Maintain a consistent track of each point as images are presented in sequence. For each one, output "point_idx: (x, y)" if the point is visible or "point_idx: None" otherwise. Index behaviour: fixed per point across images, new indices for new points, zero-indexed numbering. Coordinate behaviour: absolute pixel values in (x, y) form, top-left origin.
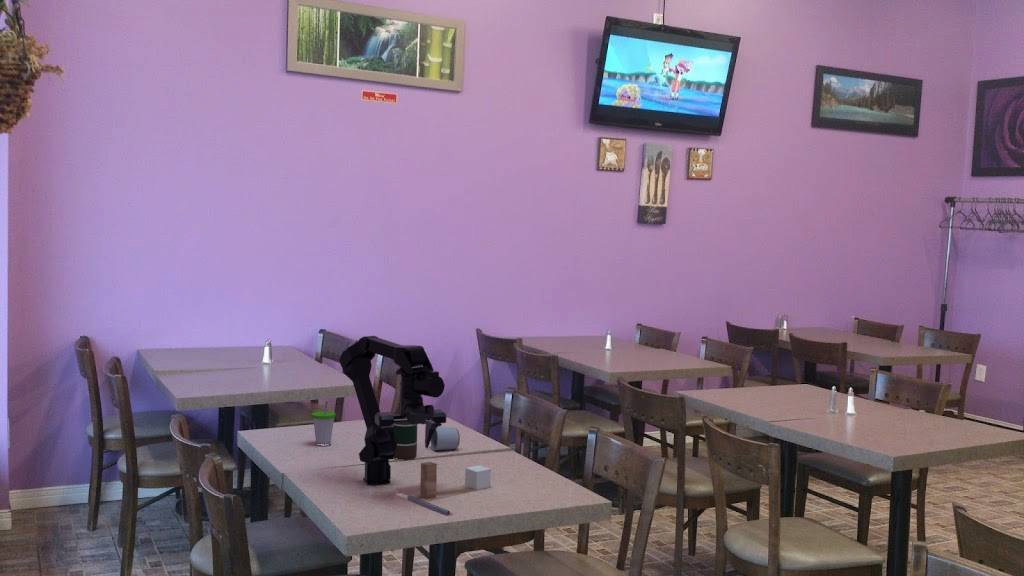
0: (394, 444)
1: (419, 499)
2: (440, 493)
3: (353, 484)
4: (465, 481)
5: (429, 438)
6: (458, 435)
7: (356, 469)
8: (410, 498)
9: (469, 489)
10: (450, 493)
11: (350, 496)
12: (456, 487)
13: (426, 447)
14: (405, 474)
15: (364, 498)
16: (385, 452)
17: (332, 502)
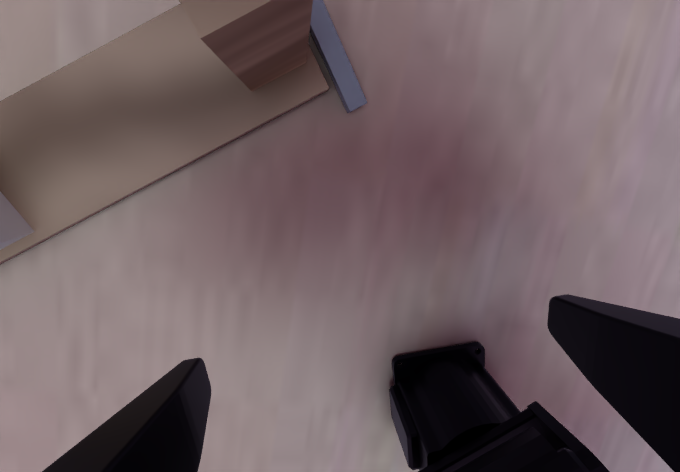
0: (623, 315)
1: (315, 22)
2: (185, 105)
3: (524, 359)
4: (11, 234)
5: (96, 449)
6: None
7: None
8: (355, 76)
9: (3, 154)
10: (125, 92)
11: (580, 205)
12: (86, 206)
13: (198, 361)
14: (312, 466)
15: (537, 167)
16: (493, 462)
17: (669, 131)
